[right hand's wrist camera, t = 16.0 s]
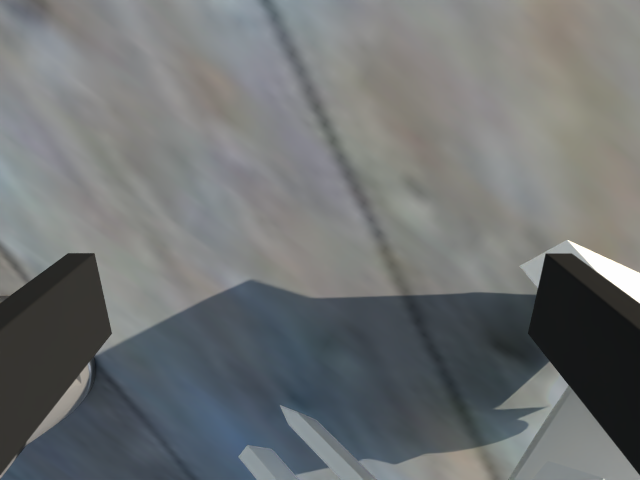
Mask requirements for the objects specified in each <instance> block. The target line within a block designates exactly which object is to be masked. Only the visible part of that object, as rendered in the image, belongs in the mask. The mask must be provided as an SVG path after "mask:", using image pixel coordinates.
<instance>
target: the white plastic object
mask: <svg viewBox="0 0 640 480" xmlns="http://www.w3.org/2000/svg"><path fill="white" fill-rule="evenodd" d="M546 253H572V254H573V255H575V256H576V257H577V258H579V259H580V260H582V261H583V262H584V263H586V264H587V265H588V266H590V267H591V268H592V269H594V270H595V271H597V272H598V273H599V274H601V275H602V276H603V277H605V278H606V279H607V280H609V281H610V282H612V283H613V284H614V285H616V286H617V287H618V288H620V289H621V290H622V291H624V292H625V293H627V294H628V295H629V296H631V297H632V298H633V299H635V300H636V301H637V302H639V303H640V273H638V272H636V271H634V270H632V269H630V268H627V267H625V266H623V265H621V264H619V263H616V262H614V261H612V260H610V259H608V258H606V257H603V256H601V255H599V254H597V253H595V252H592V251H590V250H588V249H586V248H584V247H582V246H579V245H577V244H575V243H573V242H571V241H569V240H566V241H564V242H562V243H560V244H558V245H557V246H555V247H553V248H551V249H549V250H548V251H546V252H544V253H542V254H540V255H538V256H537V257H535V258H533V259H531V260H529V261H527V262H526V263H524V264H522V265H520V267H521V268H522V269H523V271H524V272H525V273H526V274H527V276H528V277H529V278H530V279H531V280H532V282H533V283H534V284H535V285H536V286H537V288H538V286H539V281H540V277H541V272H542V267H543V263H544V258H545V254H546ZM280 407H281V409H282V412H283V414H284V416H285V418H286V420H287V423H288V425H289V426H290V427H291V428H292V429H293V430H294V431H295V432H296V433H297V434H298V435H299V436H300V437H301V438H302V439H303V440H304V441H305V442H306V444H307V445H308V446H309V447H310V448H311V449H312V450H313V451H314V452H315V453H316V454H317V455H318V456H319V457H320V458H321V459H322V460H323V461H324V462H325V463H326V465H327V466H328V467H329V468H330V469H331V470H332V471H333V472H334V473H335V474H336V475H337V476H338V477H339V478H340V479H341V480H377V479H376V478H375V477H374V476H373V475H372V474H371V473H370V472H369V471H368V470H367V469H366V468H365V467H364V466H363V465H362V464H361V463H360V462H359V461H358V460H357V459H356V458H355V457H354V456H353V455H352V454H351V453H350V452H349V451H348V450H347V449H346V448H345V447H344V446H343V445H342V444H341V443H340V442H338V441H337V440H336V439H335V438H334V437H333V436H332V435H331V434H330V433H329V432H328V431H327V430H326V429H325V428H324V427H323V426H322V425H321V424H320V423H319V422H318V421H317V420H316V419H313V418H311V417H309V416H307V415H304V414H302V413H300V412H297V411H295V410H292V409H289V408H287V407H284V406H281V405H280ZM238 457H239V458H240V460H241V461H242V462H243V463H244V465H245V466H246V467H247V468H248V470H249V471H250V472H251V473H252V474H253V476H254V477H255V478H256V479H257V480H299V479H298V478H297V477H296V475H295V474H294V473H293V472H292V471H291V470H290V469H289V467H288V466H287V465H286V464H285V463H284V462H283V461H282V460H281V458H280V457H279V456H278V455H277V454H276V453H275V452H274V451H273V449H270V448H264V447H257V446H251V445H247V446H246V448H245V449H244V450H243V451H242V453H241V454H240V455H239V456H238ZM508 480H640V475H639V474H638V473H637V471H636V470H635V469H634V467H633V466H632V465H631V464H630V462H629V461H628V460H627V459H626V457H625V456H624V455H623V453H622V452H621V451H620V450H619V448H618V447H617V446H616V445H615V443H614V442H613V441H612V439H611V438H610V437H609V436H608V434H607V433H606V432H605V431H604V429H603V428H602V427H601V425H600V424H599V423H598V422H597V420H596V419H595V418H594V417H593V415H592V414H591V413H590V411H589V410H588V409H587V408H586V406H585V405H584V404H583V403H582V401H581V400H580V399H579V398H578V396H577V395H576V394H575V392H574V391H573V390H572V389H571V387H570V386H568V387H567V389H566V390H565V392H564V393H563V395H562V396H561V398H560V399H559V400H558V402H557V403H556V405H555V406H554V408H553V409H552V411H551V413H550V414H549V416H548V417H547V419H546V420H545V422H544V423H543V425H542V426H541V428H540V429H539V431H538V433H537V434H536V436H535V437H534V439H533V440H532V442H531V444H530V445H529V447H528V448H527V450H526V452H525V453H524V455H523V457H522V458H521V460H520V461H519V463H518V465H517V466H516V468H515V469H514V471H513V473H512V474H511V476H510V477H509V479H508Z"/></svg>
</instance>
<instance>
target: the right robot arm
mask: <svg viewBox="0 0 640 480" xmlns="http://www.w3.org/2000/svg"><path fill="white" fill-rule="evenodd" d="M111 334H112V332H111V327H110V323H109V318H108V313H107V309H106V304H105V300H104V295H103V290H102V286H101V281H100V277H99V272H98V267H97V263H96V258H95V254H94V253H68V254H67V255H65V256H64V257H63V258H61V259H60V260H58V261H57V262H56V263H54V264H53V265H52V266H50V267H49V268H48V269H46V270H45V271H43V272H42V273H41V274H39V275H38V276H37V277H35V278H34V279H33V280H31V281H30V282H28V283H27V284H26V285H24V286H23V287H22V288H20V289H19V290H18V291H16V292H15V293H13V294H12V295H11V296H0V479H1V477H2V476H3V475H4V474H5V472H6V471H7V470H8V468H9V467H10V466H11V464H12V463H13V462H14V460H15V459H16V458H17V456H18V455H19V454H20V453H21V451H22V450H23V449H24V448H25V446H26V445H28V444H29V443H31V442H32V441H33V440H35V439H36V438H38V437H39V436H41V435H42V434H43V433H45V432H46V431H48V430H49V429H50V428H52V427H53V426H55V425H56V424H58V423H59V422H60V421H62V420H63V419H65V418H66V417H67V416H69V415H70V414H71V413H72V412H73V411H74V410H75V409H76V408H77V407H78V406H79V405H80V404H81V403H82V401H83V400H84V399H85V397H86V396H87V394H88V393H89V391H90V390H91V388H92V386H93V383H94V380H95V374H96V367H95V360H94V356H95V354H96V353H97V352H98V350H99V349H100V348H101V347H102V345H103V344H104V343H105V342H106V340H107V339H108V338H109V336H110V335H111ZM528 334H529V335H530V336H531V338H532V339H533V340H534V342H535V343H536V344H537V345H538V347H539V348H540V349H541V350H542V352H543V353H544V354H545V356H546V357H547V358H548V359H549V361H550V362H551V363H552V364H553V366H554V367H555V368H556V370H557V371H558V372H559V373H560V375H561V376H562V377H563V378H564V380H565V381H566V382H567V384H568V385H569V386H570V387H571V389H572V390H573V391H574V392H575V394H576V395H577V396H578V398H579V399H580V400H581V401H582V403H583V404H584V405H585V406H586V408H587V409H588V410H589V411H590V413H591V414H592V415H593V417H594V418H595V419H596V420H597V422H598V423H599V424H600V425H601V427H602V428H603V429H604V431H605V432H606V433H607V434H608V436H609V437H610V438H611V439H612V441H613V442H614V443H615V445H616V446H617V447H618V448H619V450H620V451H621V452H622V453H623V455H624V456H625V457H626V459H627V460H628V461H629V462H630V464H631V465H632V466H633V467H634V469H635V470H636V471H637V473H638V474H639V475H640V303H639V302H637V301H636V300H635V299H633V298H632V297H631V296H629V295H628V294H627V293H625V292H624V291H622V290H621V289H620V288H618V287H617V286H616V285H614V284H613V283H612V282H610V281H609V280H607V279H606V278H605V277H603V276H602V275H601V274H599V273H598V272H597V271H595V270H594V269H592V268H591V267H590V266H588V265H587V264H586V263H584V262H583V261H582V260H580V259H579V258H577V257H576V256H575V255H573V254H572V253H546V254H545V258H544V263H543V267H542V272H541V277H540V281H539V286H538V290H537V295H536V300H535V304H534V309H533V313H532V318H531V323H530V327H529V332H528Z"/></svg>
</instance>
